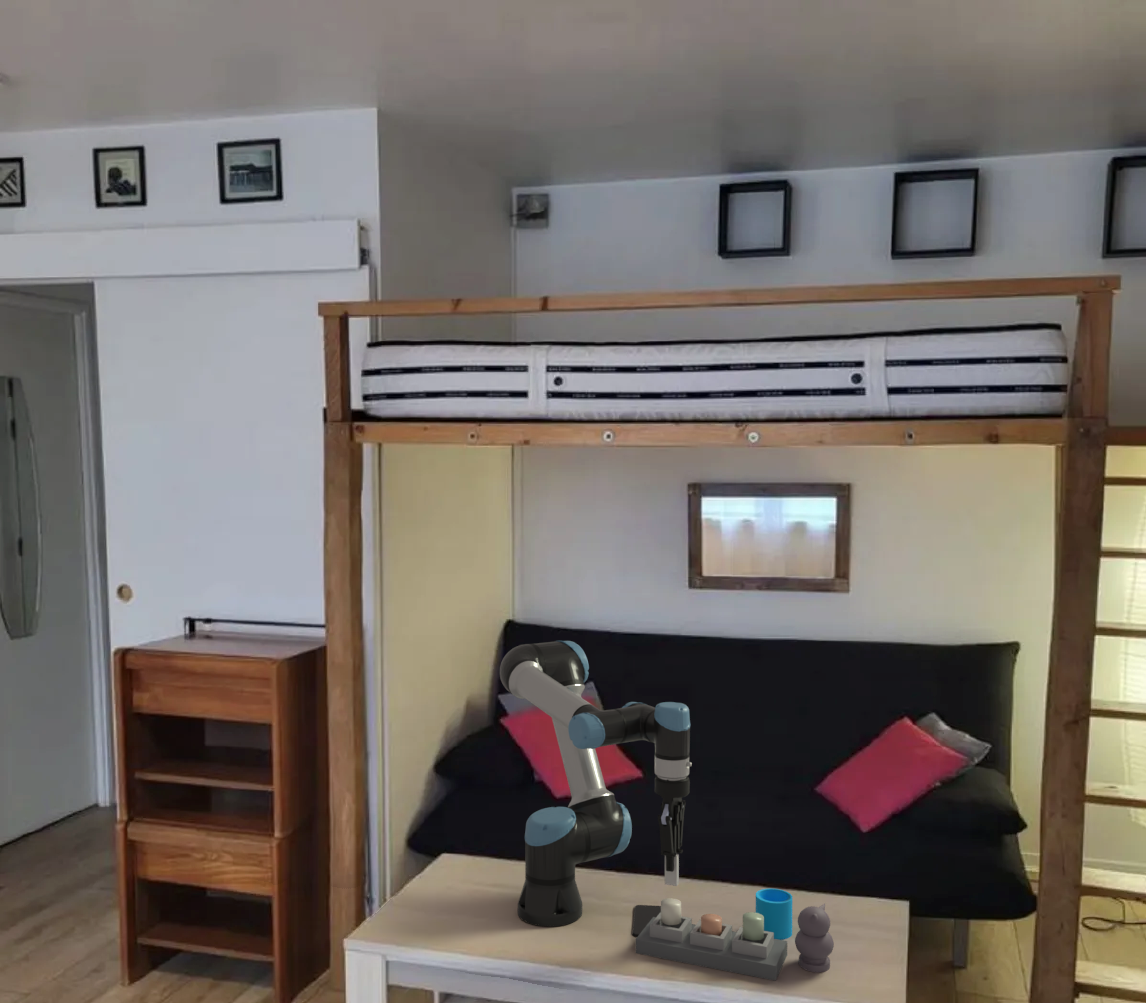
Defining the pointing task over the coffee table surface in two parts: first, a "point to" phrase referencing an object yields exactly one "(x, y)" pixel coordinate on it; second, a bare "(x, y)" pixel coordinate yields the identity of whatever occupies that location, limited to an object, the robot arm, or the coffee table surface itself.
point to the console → (713, 948)
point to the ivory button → (671, 911)
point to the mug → (775, 911)
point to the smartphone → (643, 917)
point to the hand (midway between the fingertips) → (671, 883)
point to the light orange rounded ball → (711, 924)
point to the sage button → (753, 926)
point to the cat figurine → (814, 939)
